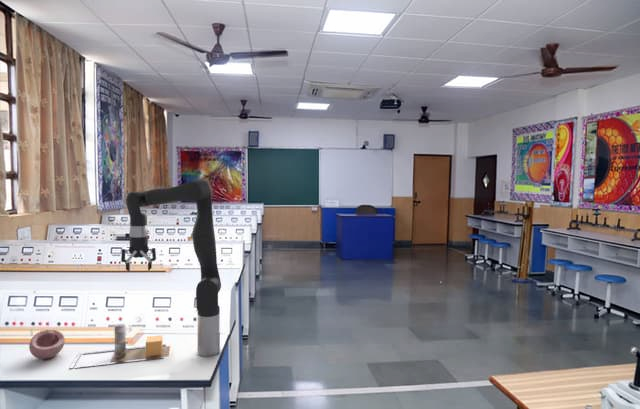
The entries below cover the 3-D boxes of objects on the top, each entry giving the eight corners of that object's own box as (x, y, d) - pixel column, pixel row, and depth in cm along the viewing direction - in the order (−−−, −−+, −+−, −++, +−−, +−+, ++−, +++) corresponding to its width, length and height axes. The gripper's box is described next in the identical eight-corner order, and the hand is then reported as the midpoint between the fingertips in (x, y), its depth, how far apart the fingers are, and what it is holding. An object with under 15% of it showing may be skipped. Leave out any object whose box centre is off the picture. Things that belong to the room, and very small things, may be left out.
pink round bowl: (35, 367, 153) (34, 339, 152) (25, 358, 160) (24, 331, 159) (69, 356, 162) (69, 330, 162) (58, 348, 170) (57, 323, 169)
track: (165, 348, 173) (165, 344, 173) (163, 362, 160) (163, 357, 160) (78, 357, 162) (78, 353, 162) (69, 373, 149) (69, 368, 149)
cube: (162, 348, 169) (162, 335, 168) (161, 354, 163) (161, 340, 162) (147, 350, 167) (147, 336, 166) (145, 356, 161) (145, 342, 161)
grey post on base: (170, 348, 172) (169, 317, 171) (168, 358, 162) (168, 325, 161) (114, 354, 165) (114, 321, 164) (109, 365, 155) (109, 330, 154)
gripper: (119, 236, 170) (120, 273, 172) (154, 236, 175) (155, 271, 176) (122, 234, 178) (123, 269, 179) (156, 233, 182) (156, 267, 183)
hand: (139, 270), depth 177 cm, fingers open, 8 cm apart
